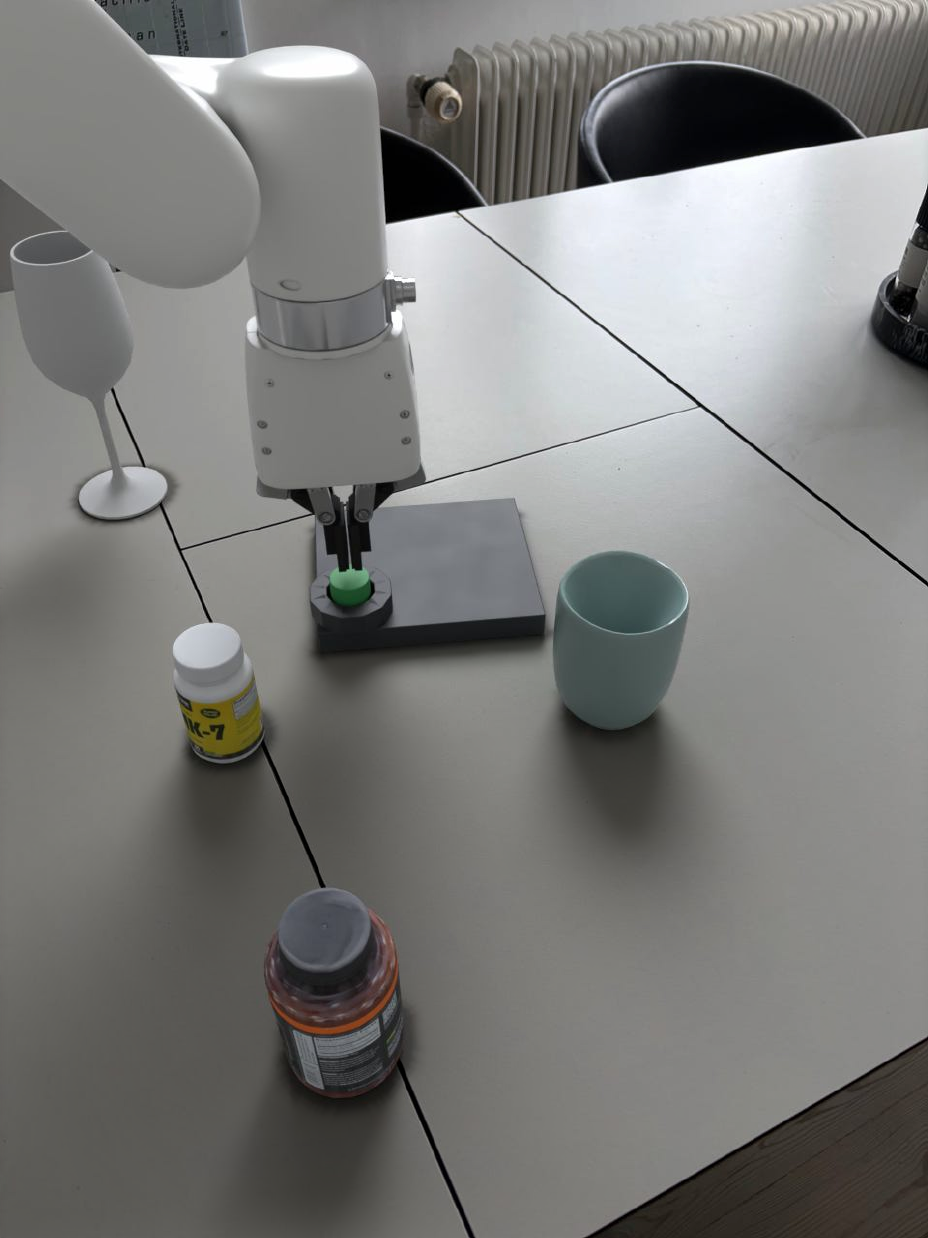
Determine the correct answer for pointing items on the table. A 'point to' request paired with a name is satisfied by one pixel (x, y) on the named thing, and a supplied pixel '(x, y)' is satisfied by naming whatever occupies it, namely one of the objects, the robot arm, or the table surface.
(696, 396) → the table surface
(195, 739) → the supplement bottle
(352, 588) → the tare button
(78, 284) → the wineglass
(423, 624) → the scale
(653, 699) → the cup
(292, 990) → the supplement bottle
